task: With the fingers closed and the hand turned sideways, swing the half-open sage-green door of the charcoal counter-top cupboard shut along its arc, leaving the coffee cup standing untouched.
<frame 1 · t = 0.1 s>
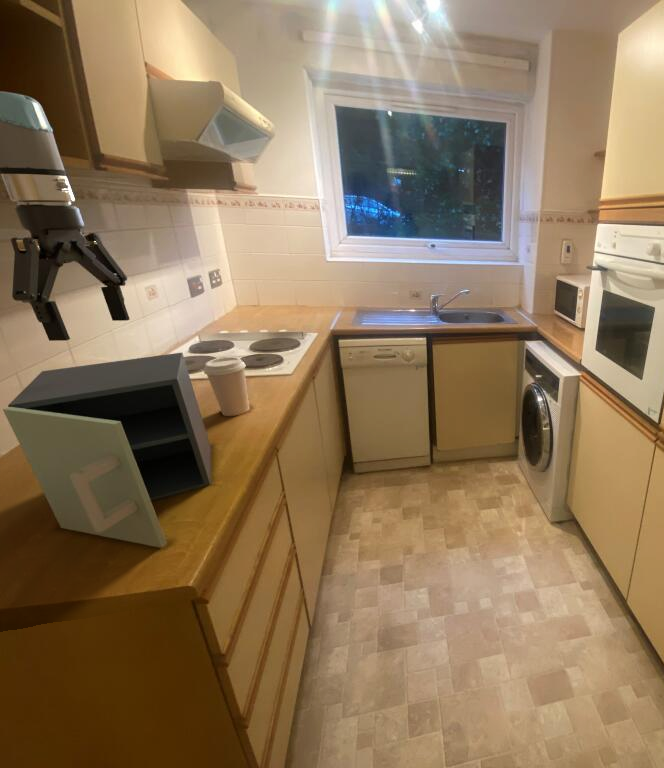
hand: (93, 329, 79), 32 cm above the countertop, tool pointing down, fingers open, 13 cm apart
cupboard: (148, 481, 91), on the countertop
coffee cup: (236, 412, 121), on the countertop
door: (68, 490, 68), point 12 cm above the countertop, hinge at 45.0°
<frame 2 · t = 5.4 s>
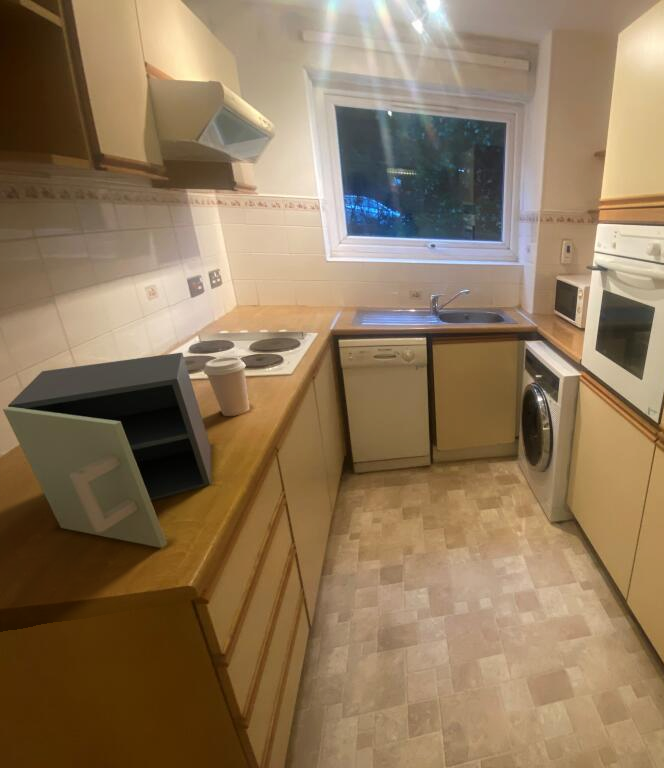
nothing on the countertop moved.
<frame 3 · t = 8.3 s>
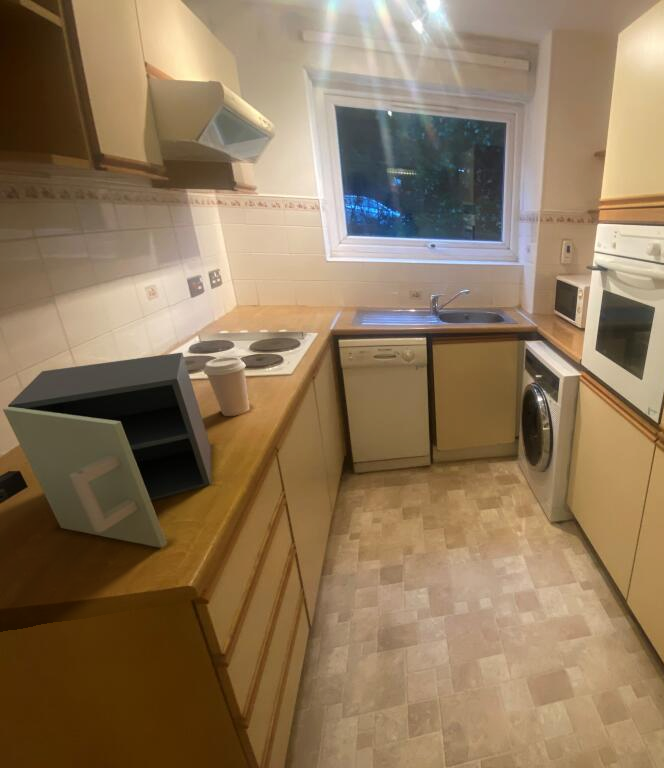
hand: (18, 479, 61), 18 cm above the countertop, tool horizontal, fingers closed
nothing on the countertop moved.
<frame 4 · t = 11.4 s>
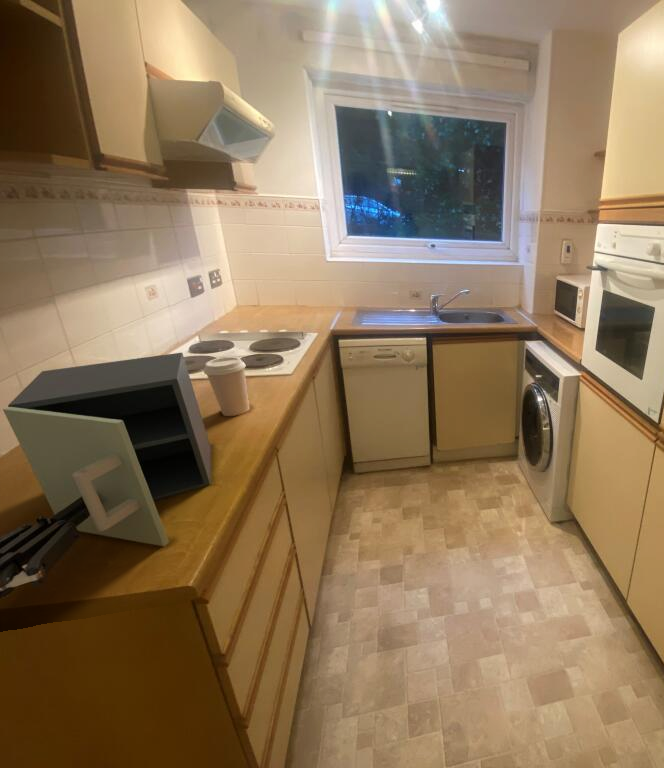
hand: (94, 499, 71), 9 cm above the countertop, tool horizontal, fingers closed
door: (69, 489, 68), point 12 cm above the countertop, hinge at 44.1°, touching gripper
everything else where it was.
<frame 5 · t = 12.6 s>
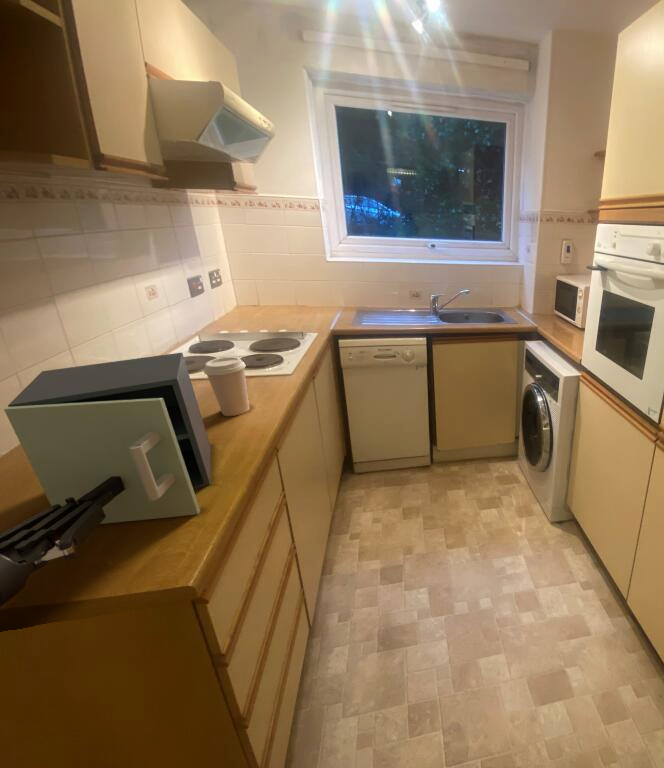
hand: (118, 483, 75), 9 cm above the countertop, tool horizontal, fingers closed
door: (99, 474, 72), point 12 cm above the countertop, hinge at 22.6°, touching gripper
everything else where it was.
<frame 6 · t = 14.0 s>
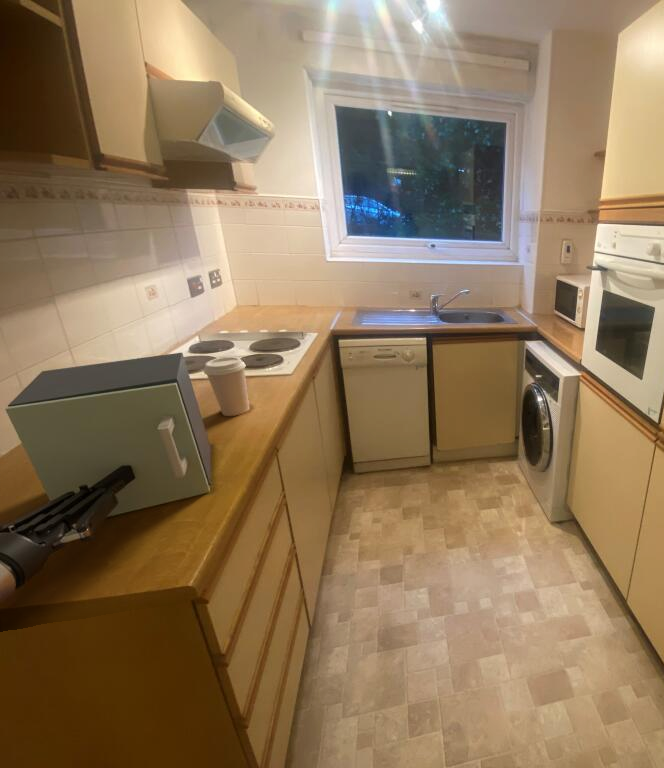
hand: (128, 471, 78), 9 cm above the countertop, tool horizontal, fingers closed
door: (116, 462, 75), point 12 cm above the countertop, hinge at 4.2°, touching gripper
everything else where it was.
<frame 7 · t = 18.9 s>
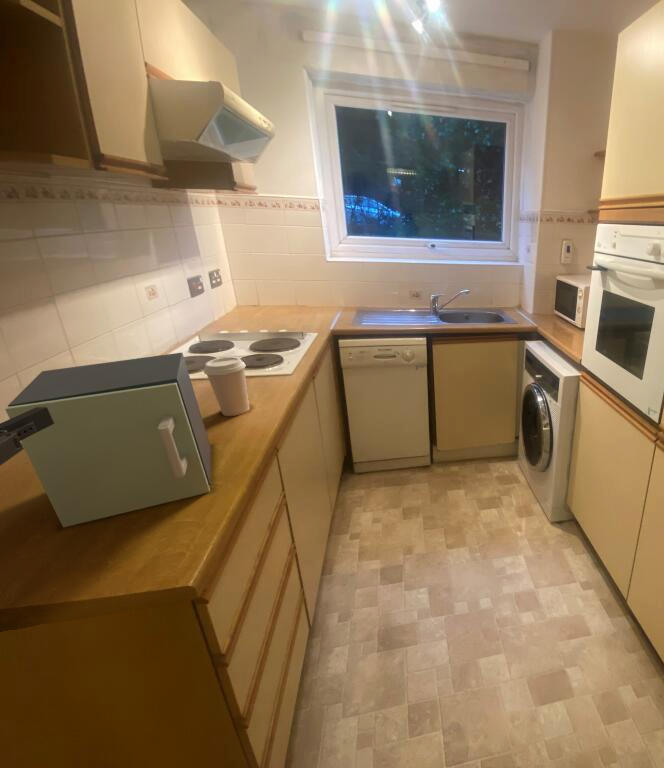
hand: (45, 415, 63), 25 cm above the countertop, tool horizontal, fingers closed
door: (116, 462, 75), point 12 cm above the countertop, hinge at 4.1°
everything else where it was.
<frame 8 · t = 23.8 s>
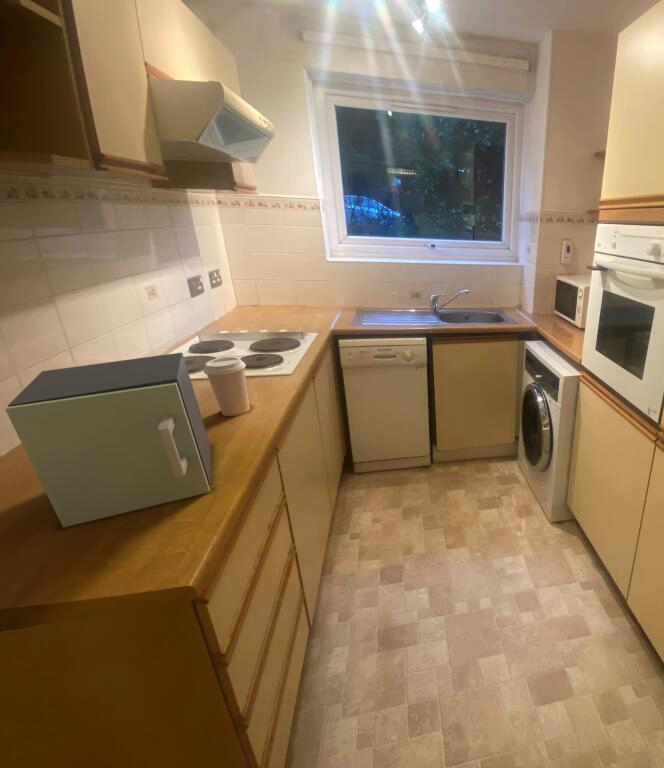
nothing on the countertop moved.
at the end: door at +4° (first picture: +45°); coffee cup tilted 0°; coffee cup moved 0.2 cm from its start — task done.
